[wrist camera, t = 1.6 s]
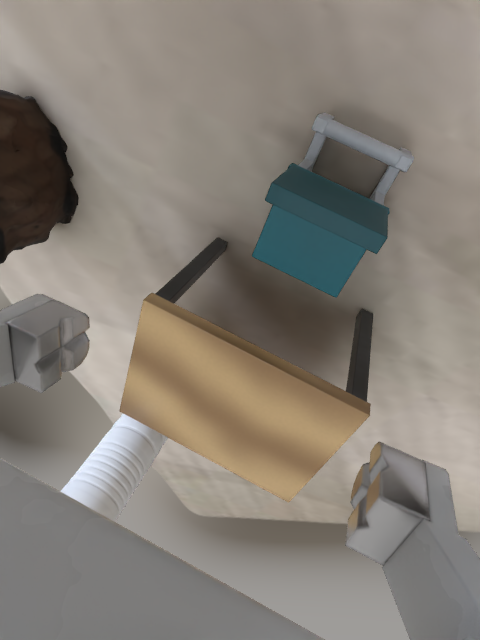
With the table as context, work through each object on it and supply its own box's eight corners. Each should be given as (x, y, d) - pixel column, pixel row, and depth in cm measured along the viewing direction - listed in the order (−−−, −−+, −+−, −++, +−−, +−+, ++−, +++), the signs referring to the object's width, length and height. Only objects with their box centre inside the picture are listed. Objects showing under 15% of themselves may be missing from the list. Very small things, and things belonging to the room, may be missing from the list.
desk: (216, 234, 38) (143, 299, 27) (376, 313, 37) (370, 415, 26) (184, 331, 47) (119, 411, 35) (313, 397, 45) (288, 503, 34)
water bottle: (170, 409, 56) (49, 591, 36) (143, 377, 54) (0, 550, 34) (213, 395, 51) (100, 596, 31) (185, 359, 49) (47, 549, 29)
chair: (322, 108, 29) (292, 120, 20) (415, 150, 29) (427, 182, 20) (265, 243, 37) (223, 297, 28) (337, 278, 36) (320, 345, 27)
